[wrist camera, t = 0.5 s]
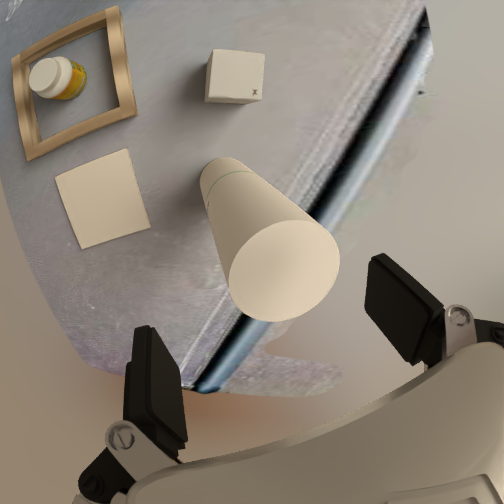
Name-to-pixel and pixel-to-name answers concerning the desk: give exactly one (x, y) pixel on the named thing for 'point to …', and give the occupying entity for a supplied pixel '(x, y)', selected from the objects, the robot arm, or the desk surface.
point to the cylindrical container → (266, 244)
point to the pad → (103, 199)
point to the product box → (234, 77)
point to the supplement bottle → (58, 78)
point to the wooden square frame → (47, 45)
